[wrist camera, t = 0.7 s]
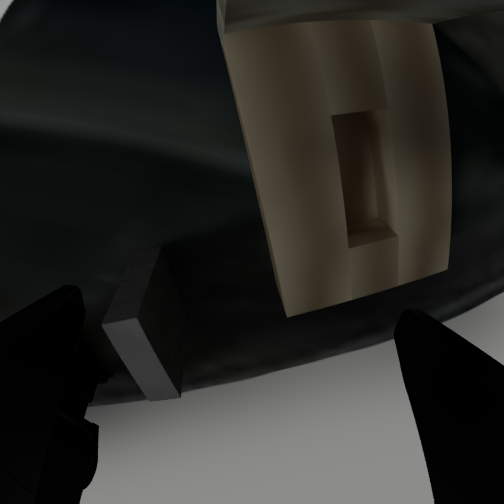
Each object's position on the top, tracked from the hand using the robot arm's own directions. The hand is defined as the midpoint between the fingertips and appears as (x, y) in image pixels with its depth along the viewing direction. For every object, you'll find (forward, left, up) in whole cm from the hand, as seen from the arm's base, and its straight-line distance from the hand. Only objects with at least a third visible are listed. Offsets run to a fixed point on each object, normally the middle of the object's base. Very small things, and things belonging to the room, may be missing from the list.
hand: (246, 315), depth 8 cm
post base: (+8, +1, -13) cm, 15 cm away
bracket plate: (-6, -6, -13) cm, 16 cm away
